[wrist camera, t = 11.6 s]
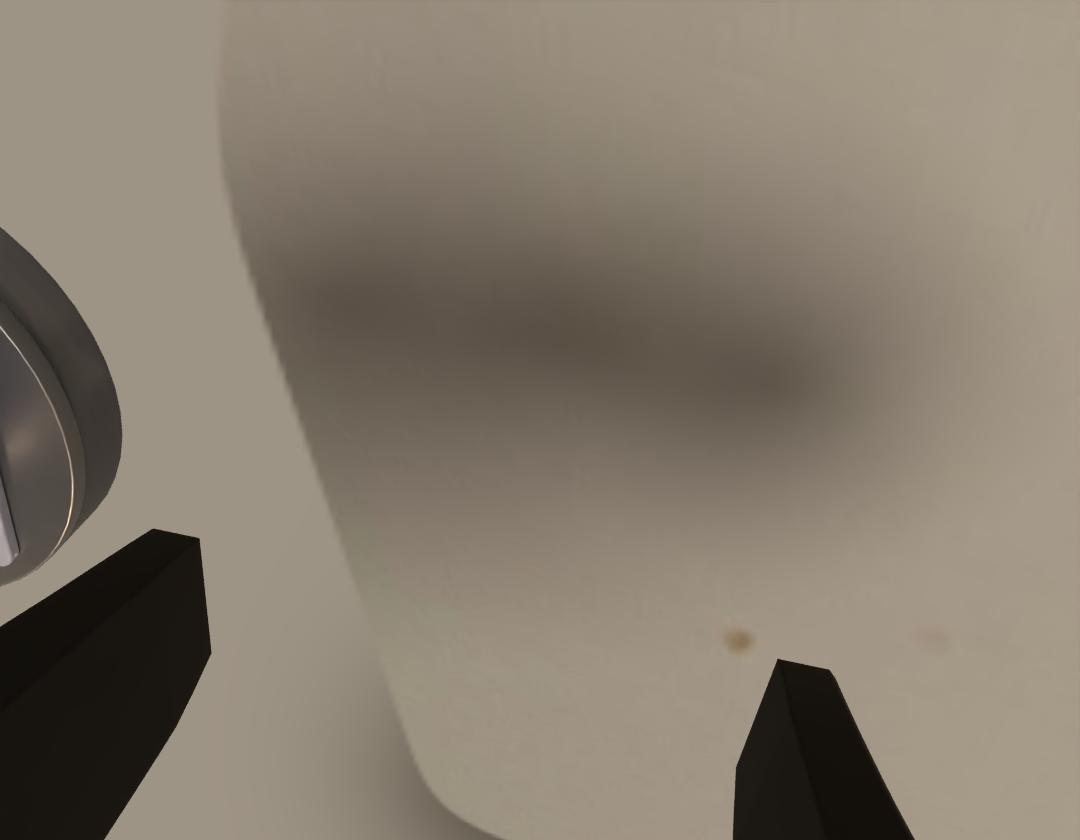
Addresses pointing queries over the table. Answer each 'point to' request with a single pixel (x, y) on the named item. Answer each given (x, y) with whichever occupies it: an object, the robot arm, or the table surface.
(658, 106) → the table surface
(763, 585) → the table surface
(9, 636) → the robot arm
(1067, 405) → the table surface
